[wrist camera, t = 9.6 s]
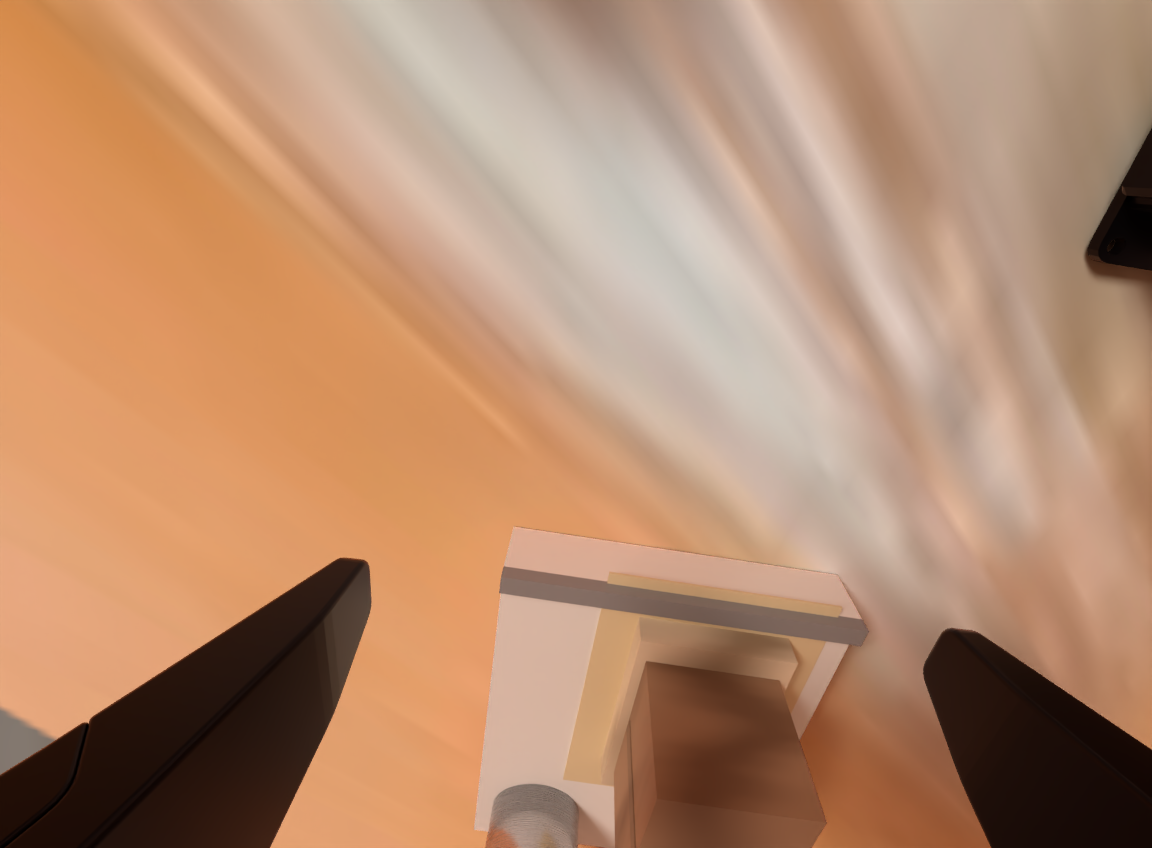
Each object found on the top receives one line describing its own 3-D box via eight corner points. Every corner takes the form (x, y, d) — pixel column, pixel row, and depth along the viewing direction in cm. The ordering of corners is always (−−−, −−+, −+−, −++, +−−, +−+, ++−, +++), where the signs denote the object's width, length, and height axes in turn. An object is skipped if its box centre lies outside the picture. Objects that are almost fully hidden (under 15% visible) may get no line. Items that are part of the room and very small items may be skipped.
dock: (841, 565, 23) (874, 621, 20) (725, 814, 31) (737, 879, 28) (514, 516, 23) (502, 566, 20) (483, 781, 31) (471, 842, 28)
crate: (788, 638, 22) (851, 805, 16) (727, 775, 26) (761, 947, 20) (638, 616, 21) (650, 777, 16) (601, 757, 25) (600, 925, 20)
